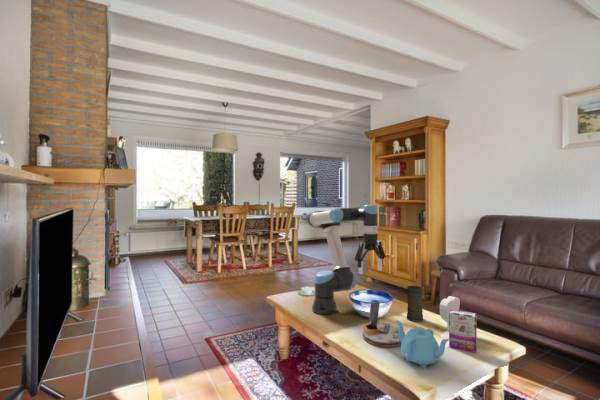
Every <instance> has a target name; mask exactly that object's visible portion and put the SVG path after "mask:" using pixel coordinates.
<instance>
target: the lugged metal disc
mask: <svg viewBox="0 0 600 400" xmlns="http://www.w3.org/2000/svg"><path fill="white" fill-rule="evenodd" d="M368 326H369V323H368V324H363V327H362V328H363V333H364V336H365V338H367V339H368V340H370V341H372V342H375V343H378V344H386V345H391V344H397V343H400V340H399V326H395V325H391V322H388V321H384V323H377V329H368Z"/></svg>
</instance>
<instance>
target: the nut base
mask: <svg viewBox="0 0 600 400" xmlns="http://www.w3.org/2000/svg"><path fill="white" fill-rule="evenodd" d="M362 339H363V340H364V341H365V342H366V343H367V344H369V345H371V346H374V347H378V348H384V349H391V348H392V349H394V348H398V347H401V342H400V343H397V344H391V345H386V344H378V343H375V342H372V341H370V340H368V339H367V338H365V336H364V332H363V333H362Z"/></svg>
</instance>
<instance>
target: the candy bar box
mask: <svg viewBox="0 0 600 400" xmlns="http://www.w3.org/2000/svg"><path fill="white" fill-rule="evenodd" d="M477 334H478V332H477V313H476V312H469V311H463V310H459V311H456V310H450V312H449V338H448V339H450V340H449V341H448V343H449V344H448V347H449V348H451V349H456V350H462V351H466V352H470V353H477V345H478V342H477V337H478V336H477Z"/></svg>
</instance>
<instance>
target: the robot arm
mask: <svg viewBox="0 0 600 400" xmlns="http://www.w3.org/2000/svg"><path fill="white" fill-rule="evenodd" d="M378 215H379V209H378V205H376V204H364V205H363V207H360V206H358V207H357V206H356V207H341V208H339V207H333V208H331V209H330V210H314V211H311V212H310V213H309V214H307V217H306V221H307V224H308V225H309V226H310V227H311V228H314V229H321V230H322V233H324V234H325V236H326V241H327V245H328V249H329V254H330V257H331V263H332V267H333V269H332V270H321V271H318V272H316V274H315V276H314V299H313V302H312V303H313V304H312V306H311V310H312V312H313V313H315V314H317V315H332V314H335V313H337V312H338V306H337V303H336V300H335V293H338V292H345V291H350V290H353V289H355V288H356V284H357V274H356V273H355V271H354V270H352V269H351V267H350V266H349V265H348V264H347V260H346V256H345V253H344V249H343V245H342V241H341V237H340V236H341V235H340V233H339V230H340V228H341V225H342V222H363V228H362V229H363V241H364V242H359V244H358V248H357V251H356V254H355V257H354V261H356V262H357V268H358V274H359V275H360V274H361V275H363V274H364V262H363V260H364V258H365V256H366V255H367V253H368V252H369V251H370V252H371V251H373V252H374V253H375V254H376V256H377V271H380V272H382V270H383V262H384V261H383V260H384V259H385V258H386V254H385V251H384V248H383V245H382V244H383V243H382V241H380V240H379V239H378V238H379V237H378V232H379V231H378V230H379V229H378V228H379V227H378V223H379V222H378V221H379V218H378Z"/></svg>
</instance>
